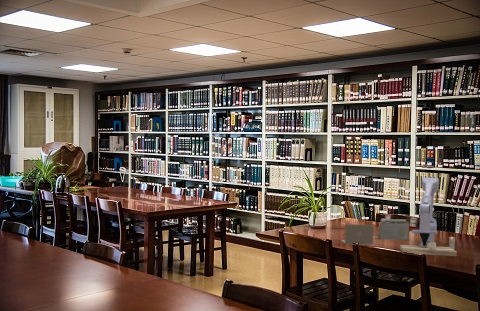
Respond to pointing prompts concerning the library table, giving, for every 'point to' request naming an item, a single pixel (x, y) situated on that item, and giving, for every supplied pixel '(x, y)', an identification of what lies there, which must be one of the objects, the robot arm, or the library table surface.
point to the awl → (451, 242)
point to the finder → (430, 244)
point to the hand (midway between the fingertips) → (424, 245)
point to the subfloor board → (428, 250)
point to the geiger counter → (393, 229)
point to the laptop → (358, 234)
